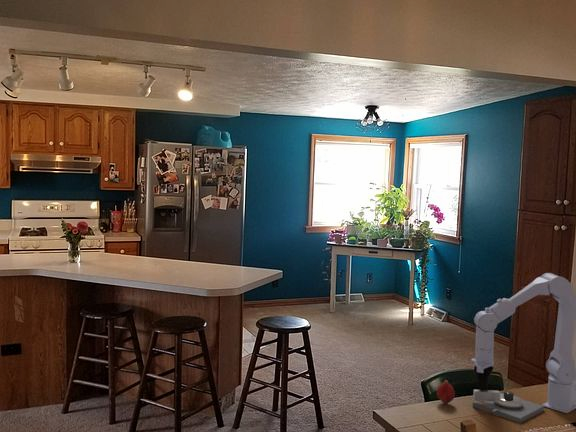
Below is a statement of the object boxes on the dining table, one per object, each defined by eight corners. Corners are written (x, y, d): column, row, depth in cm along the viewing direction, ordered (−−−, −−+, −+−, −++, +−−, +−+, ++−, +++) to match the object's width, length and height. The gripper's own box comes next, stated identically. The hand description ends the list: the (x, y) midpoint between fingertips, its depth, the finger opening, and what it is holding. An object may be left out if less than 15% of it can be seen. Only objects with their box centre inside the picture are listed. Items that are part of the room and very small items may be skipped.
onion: (432, 401, 182) (433, 378, 182) (447, 399, 184) (448, 376, 183) (442, 408, 176) (443, 383, 176) (458, 406, 178) (458, 382, 178)
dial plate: (543, 410, 176) (544, 405, 176) (517, 424, 165) (517, 418, 165) (497, 395, 188) (497, 391, 188) (470, 407, 177) (470, 402, 177)
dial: (517, 399, 181) (518, 387, 181) (527, 409, 172) (527, 397, 172) (470, 396, 182) (470, 385, 182) (477, 407, 173) (478, 395, 173)
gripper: (476, 341, 189) (474, 379, 189) (467, 351, 176) (466, 392, 177) (497, 344, 185) (496, 383, 186) (490, 354, 172) (489, 396, 173)
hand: (483, 388), depth 181 cm, fingers closed
